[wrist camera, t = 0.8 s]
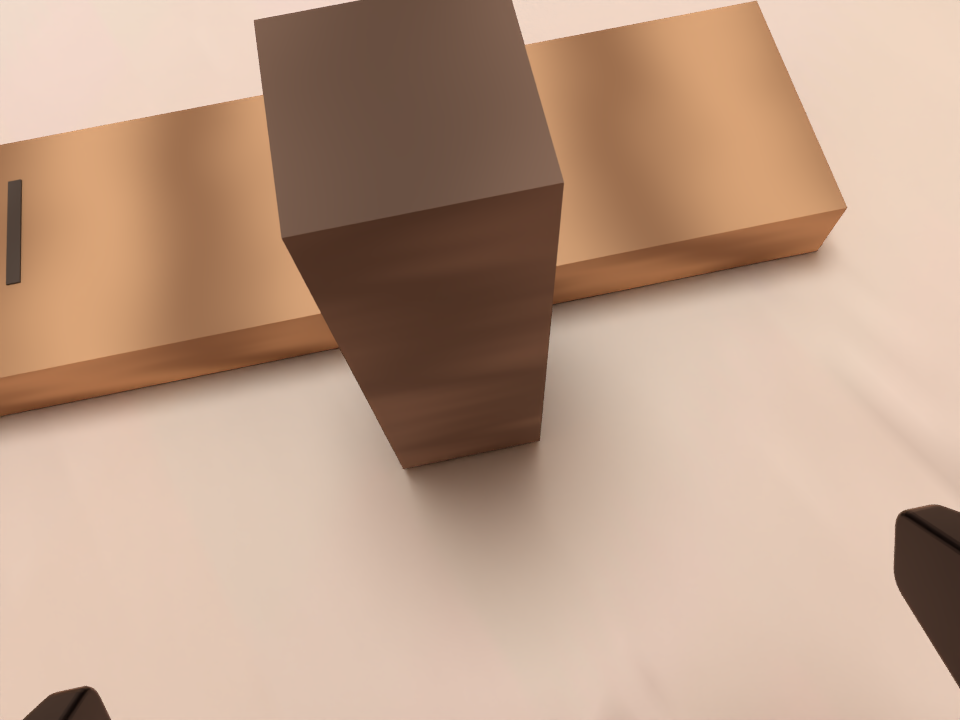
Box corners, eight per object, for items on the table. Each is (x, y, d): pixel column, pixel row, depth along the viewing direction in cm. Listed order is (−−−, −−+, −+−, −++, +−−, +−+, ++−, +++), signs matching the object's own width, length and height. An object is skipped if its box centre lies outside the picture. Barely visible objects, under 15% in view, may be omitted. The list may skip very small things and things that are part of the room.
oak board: (737, 56, 29) (757, -1, 26) (817, 250, 26) (848, 206, 23) (-298, 256, 27) (-376, 215, 25) (-339, 484, 24) (-432, 463, 22)
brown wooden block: (463, 122, 28) (422, -312, 16) (539, 440, 23) (563, 182, 11) (348, 144, 28) (216, -276, 15) (403, 469, 23) (281, 238, 11)
